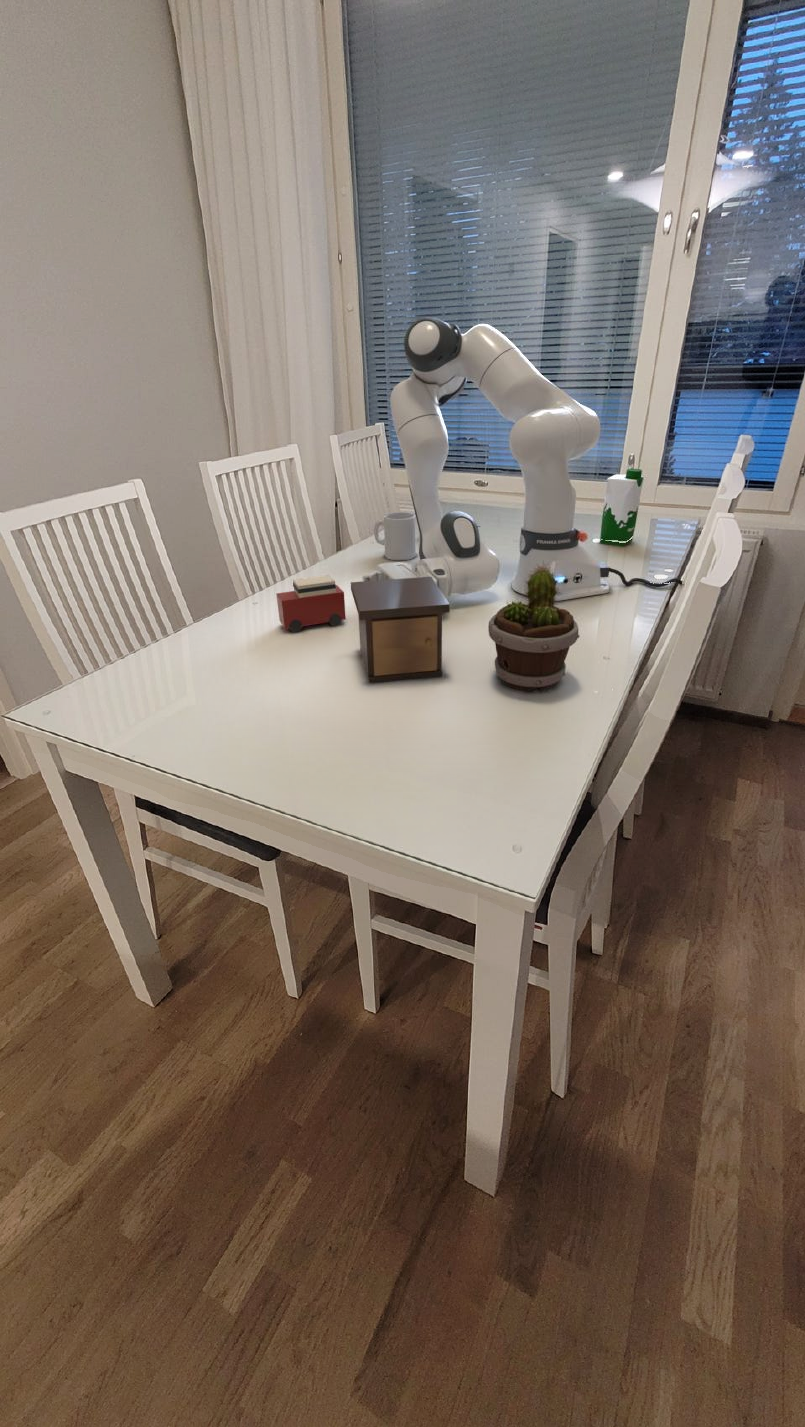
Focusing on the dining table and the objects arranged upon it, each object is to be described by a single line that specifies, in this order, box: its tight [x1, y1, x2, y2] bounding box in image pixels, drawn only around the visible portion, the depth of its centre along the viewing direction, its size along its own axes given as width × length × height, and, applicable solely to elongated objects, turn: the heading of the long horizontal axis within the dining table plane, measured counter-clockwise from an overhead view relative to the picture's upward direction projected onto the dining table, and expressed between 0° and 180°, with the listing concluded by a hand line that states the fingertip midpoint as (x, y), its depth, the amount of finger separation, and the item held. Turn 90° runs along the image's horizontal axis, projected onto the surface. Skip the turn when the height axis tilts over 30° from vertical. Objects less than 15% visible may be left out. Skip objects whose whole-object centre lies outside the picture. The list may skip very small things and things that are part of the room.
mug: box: [373, 511, 417, 561], centre depth 176 cm, size 12×8×11 cm
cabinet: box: [350, 577, 451, 684], centre depth 114 cm, size 15×16×14 cm
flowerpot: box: [488, 561, 580, 692], centre depth 107 cm, size 14×15×20 cm
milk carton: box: [599, 468, 645, 547], centre depth 181 cm, size 9×9×20 cm
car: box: [275, 574, 346, 633], centre depth 133 cm, size 13×5×10 cm, turn 112°
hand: (370, 587), depth 136 cm, fingers open, 8 cm apart
